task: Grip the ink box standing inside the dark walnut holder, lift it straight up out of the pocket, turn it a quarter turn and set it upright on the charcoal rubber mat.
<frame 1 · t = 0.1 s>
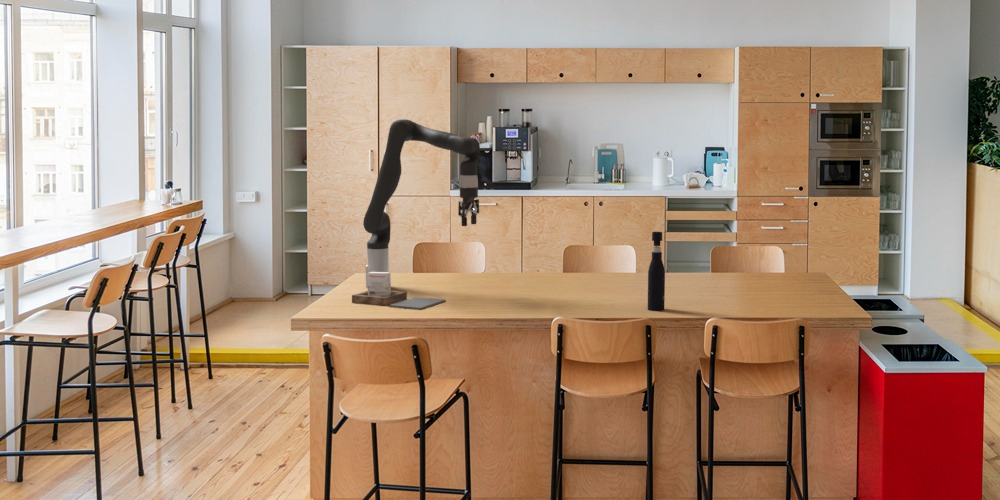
hand: (469, 225, 432), 29 cm above the table, tool pointing down, fingers open, 8 cm apart
wine bottle: (655, 309, 401), on the table
rubber mat: (418, 304, 414), on the table
ink box: (379, 301, 421), resting in walnut holder
walnut holder: (379, 300, 421), on the table
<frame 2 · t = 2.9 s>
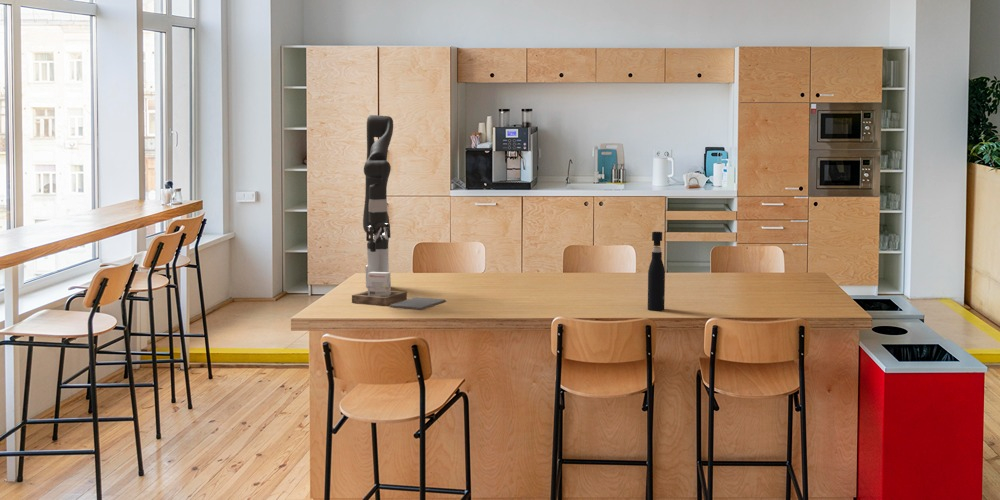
hand: (378, 250, 419), 21 cm above the table, tool pointing down, fingers open, 8 cm apart
nothing on the table moved.
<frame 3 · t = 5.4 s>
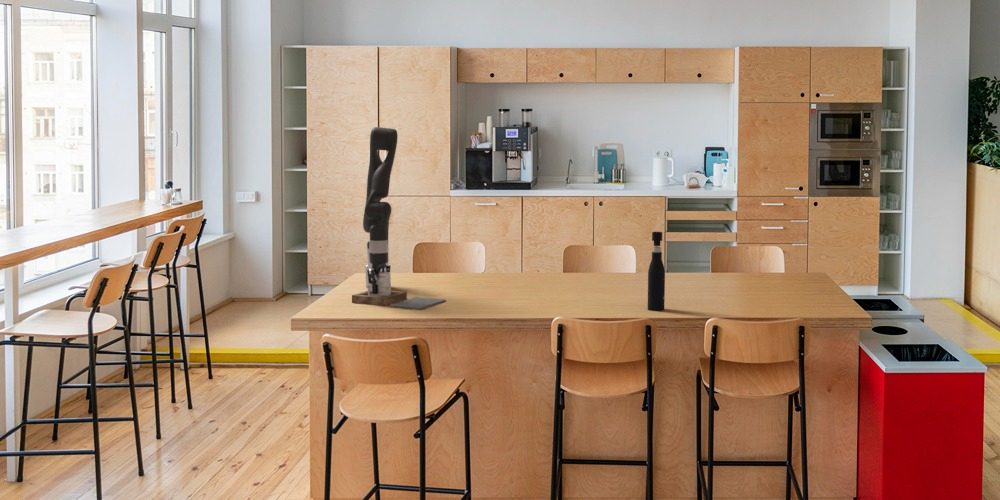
hand: (379, 292, 421), 4 cm above the table, tool pointing down, fingers closed on ink box, 5 cm apart
ink box: (379, 301, 421), resting in walnut holder, touching gripper
everything else where it was.
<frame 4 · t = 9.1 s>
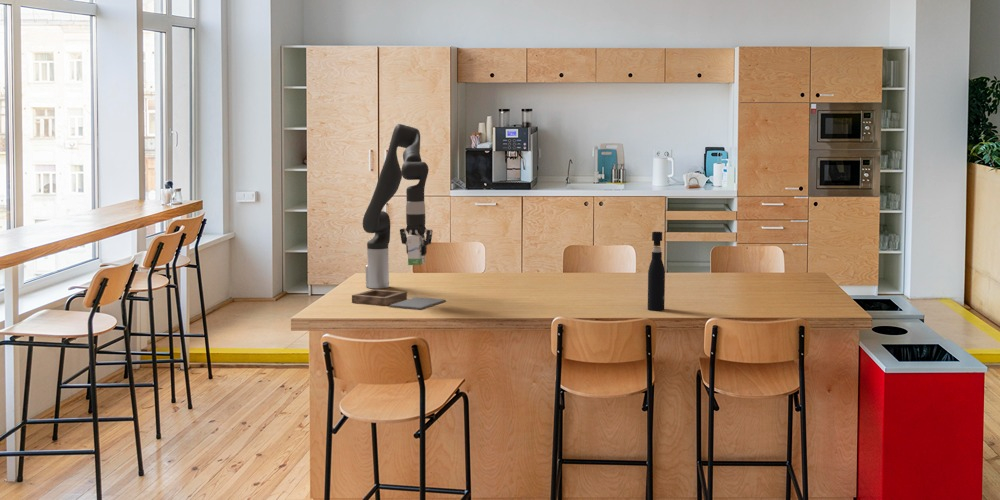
hand: (416, 255, 411), 20 cm above the table, tool pointing down, fingers closed on ink box, 5 cm apart
ink box: (416, 264, 411), point 16 cm above the table, touching gripper
everything else where it was.
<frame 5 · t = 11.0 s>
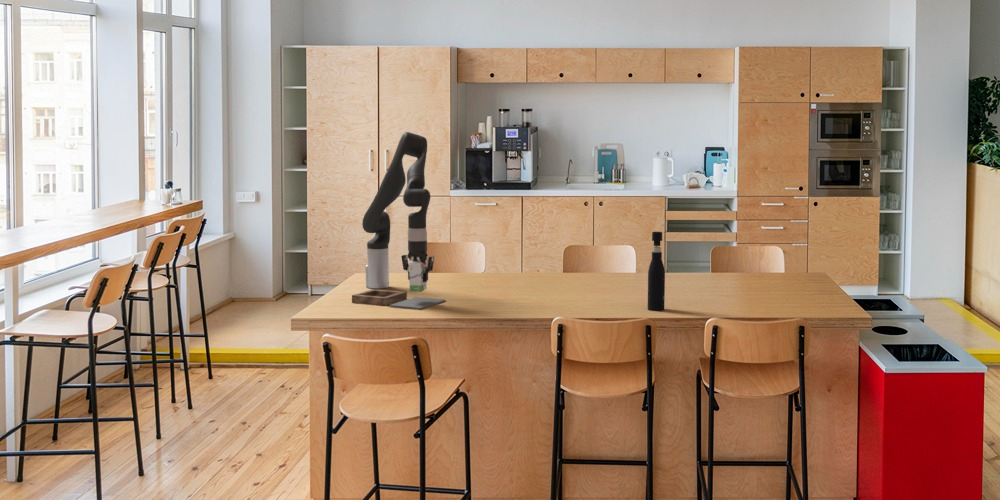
hand: (418, 281, 413), 9 cm above the table, tool pointing down, fingers closed on ink box, 5 cm apart
ink box: (418, 290, 413), point 5 cm above the table, touching gripper
everything else where it was.
when the fingers open (6 cm above the table, at t = 12.7 s): ink box drops 1 cm, resting on rubber mat.
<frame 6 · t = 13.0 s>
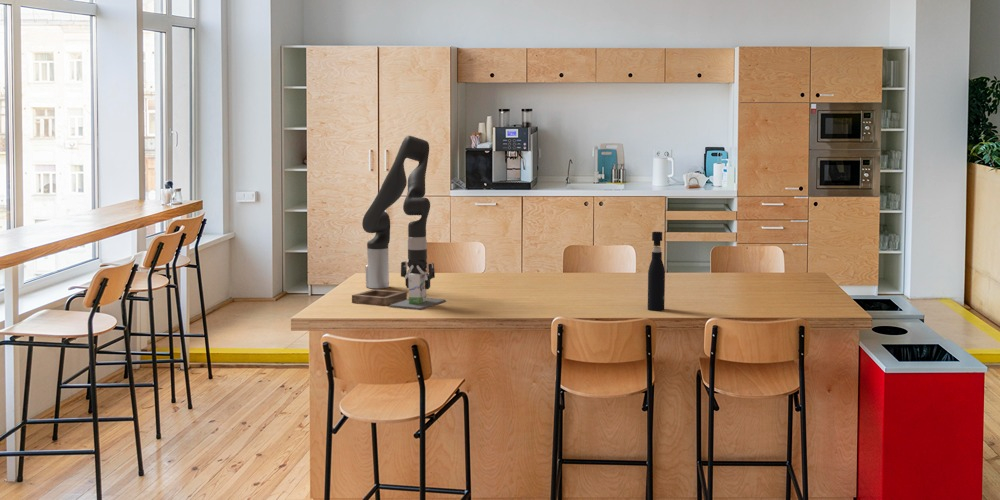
hand: (417, 288, 413), 6 cm above the table, tool pointing down, fingers open, 8 cm apart
ink box: (417, 302, 414), point 1 cm above the table, touching rubber mat
everything else where it was.
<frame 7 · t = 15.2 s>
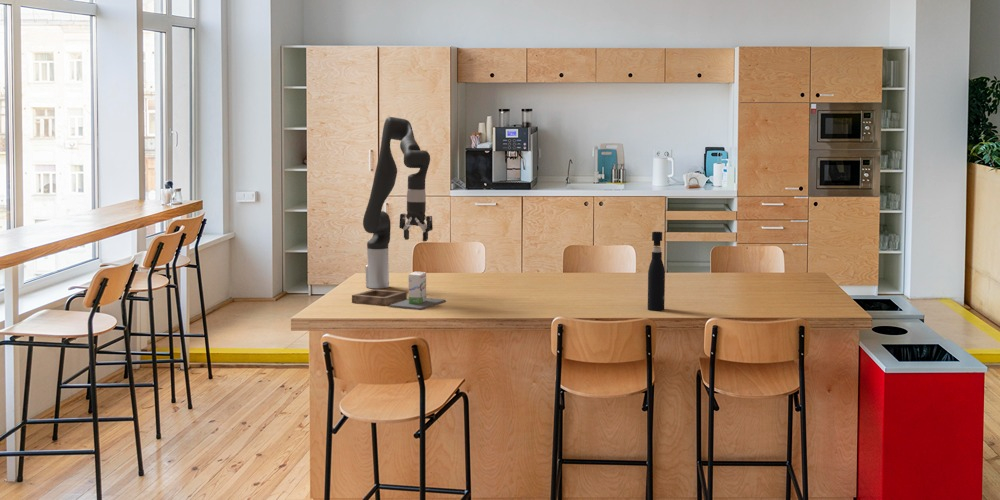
hand: (415, 240, 419), 25 cm above the table, tool pointing down, fingers open, 8 cm apart
nothing on the table moved.
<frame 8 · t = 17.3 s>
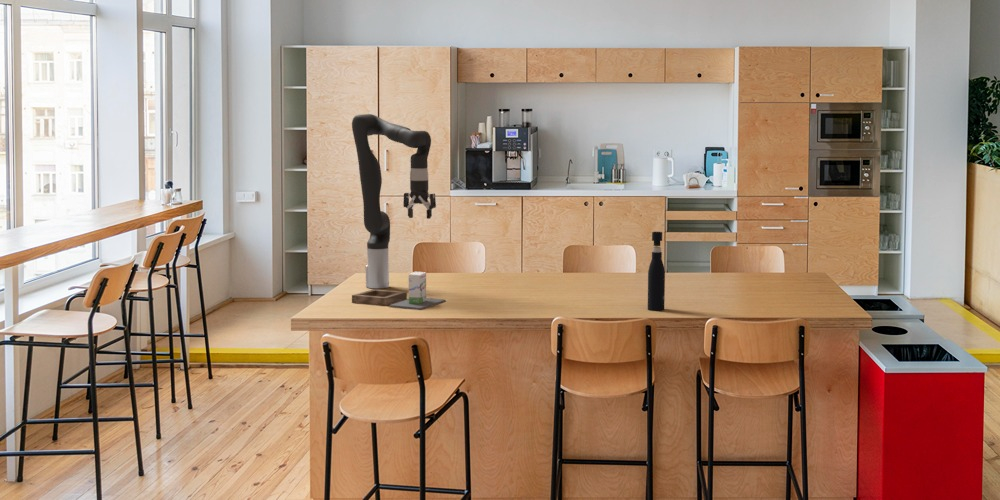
hand: (419, 218, 433), 32 cm above the table, tool pointing down, fingers open, 8 cm apart
nothing on the table moved.
at the end: ink box inside the target area on the rubber mat (0.2 cm from its centre), point 0.6 cm above the rubber mat's base; ink box tilted 0°; the gripper is holding nothing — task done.
